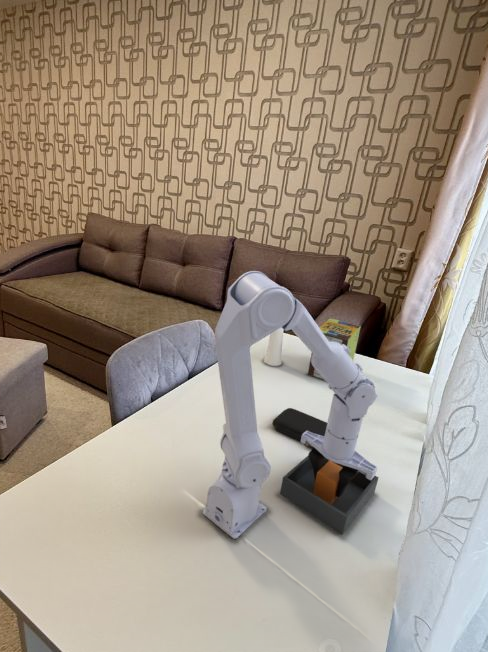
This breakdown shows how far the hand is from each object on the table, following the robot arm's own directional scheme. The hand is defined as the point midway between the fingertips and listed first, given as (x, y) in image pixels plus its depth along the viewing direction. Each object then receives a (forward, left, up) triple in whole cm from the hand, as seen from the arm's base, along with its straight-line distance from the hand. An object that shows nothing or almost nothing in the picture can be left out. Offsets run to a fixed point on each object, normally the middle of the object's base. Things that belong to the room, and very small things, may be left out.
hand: (329, 487), depth 78 cm
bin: (0, 0, -2) cm, 2 cm away
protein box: (+51, +26, -2) cm, 57 cm away
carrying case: (+14, +14, -2) cm, 20 cm away
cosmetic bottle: (+30, +39, +6) cm, 50 cm away
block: (0, 0, -1) cm, 1 cm away
